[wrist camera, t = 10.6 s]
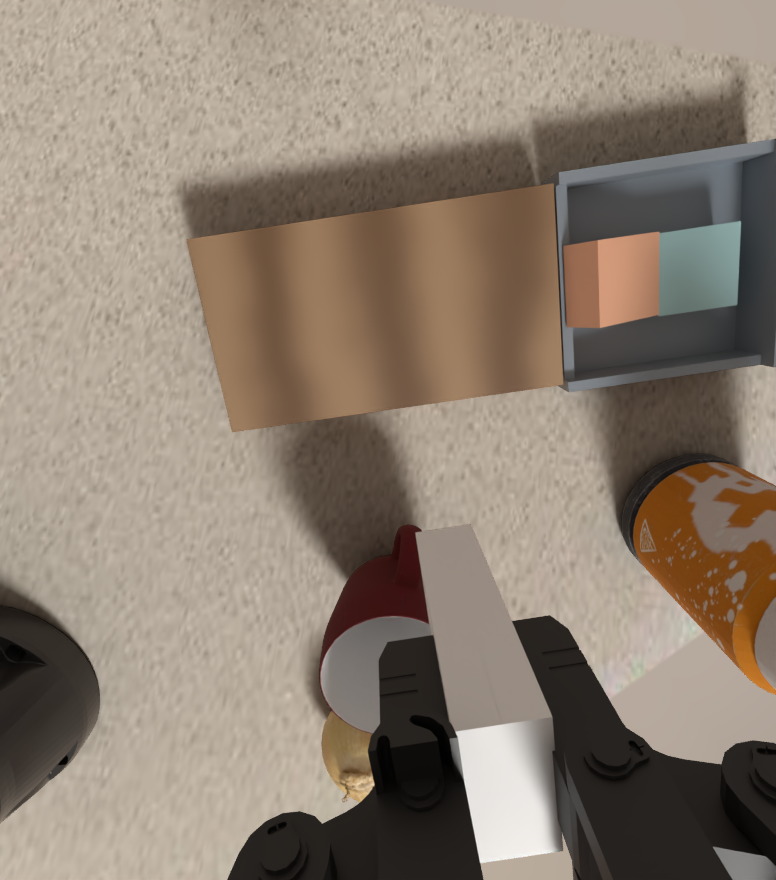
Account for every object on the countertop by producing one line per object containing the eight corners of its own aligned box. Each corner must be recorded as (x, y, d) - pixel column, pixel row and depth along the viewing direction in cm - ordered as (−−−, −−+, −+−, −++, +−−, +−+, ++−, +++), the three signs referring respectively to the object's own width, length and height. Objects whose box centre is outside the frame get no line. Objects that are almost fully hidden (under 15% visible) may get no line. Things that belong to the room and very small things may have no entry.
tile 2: (567, 327, 31) (600, 328, 29) (563, 246, 29) (597, 240, 27) (623, 314, 32) (659, 314, 30) (622, 237, 31) (659, 231, 29)
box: (552, 383, 34) (574, 395, 30) (542, 182, 31) (565, 168, 27) (738, 356, 34) (784, 365, 30) (748, 150, 31) (801, 132, 27)
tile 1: (737, 304, 30) (710, 303, 33) (741, 221, 29) (713, 225, 31) (658, 316, 30) (637, 314, 33) (658, 233, 29) (637, 237, 31)
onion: (405, 657, 40) (411, 733, 34) (440, 734, 43) (452, 820, 36) (309, 690, 41) (296, 771, 34) (348, 764, 43) (343, 854, 36)
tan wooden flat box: (244, 419, 35) (232, 432, 32) (203, 243, 32) (186, 239, 29) (547, 376, 34) (563, 384, 31) (537, 192, 31) (553, 183, 28)
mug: (338, 492, 36) (323, 567, 27) (454, 500, 37) (481, 577, 27) (330, 623, 39) (314, 733, 30) (438, 629, 40) (457, 741, 30)
